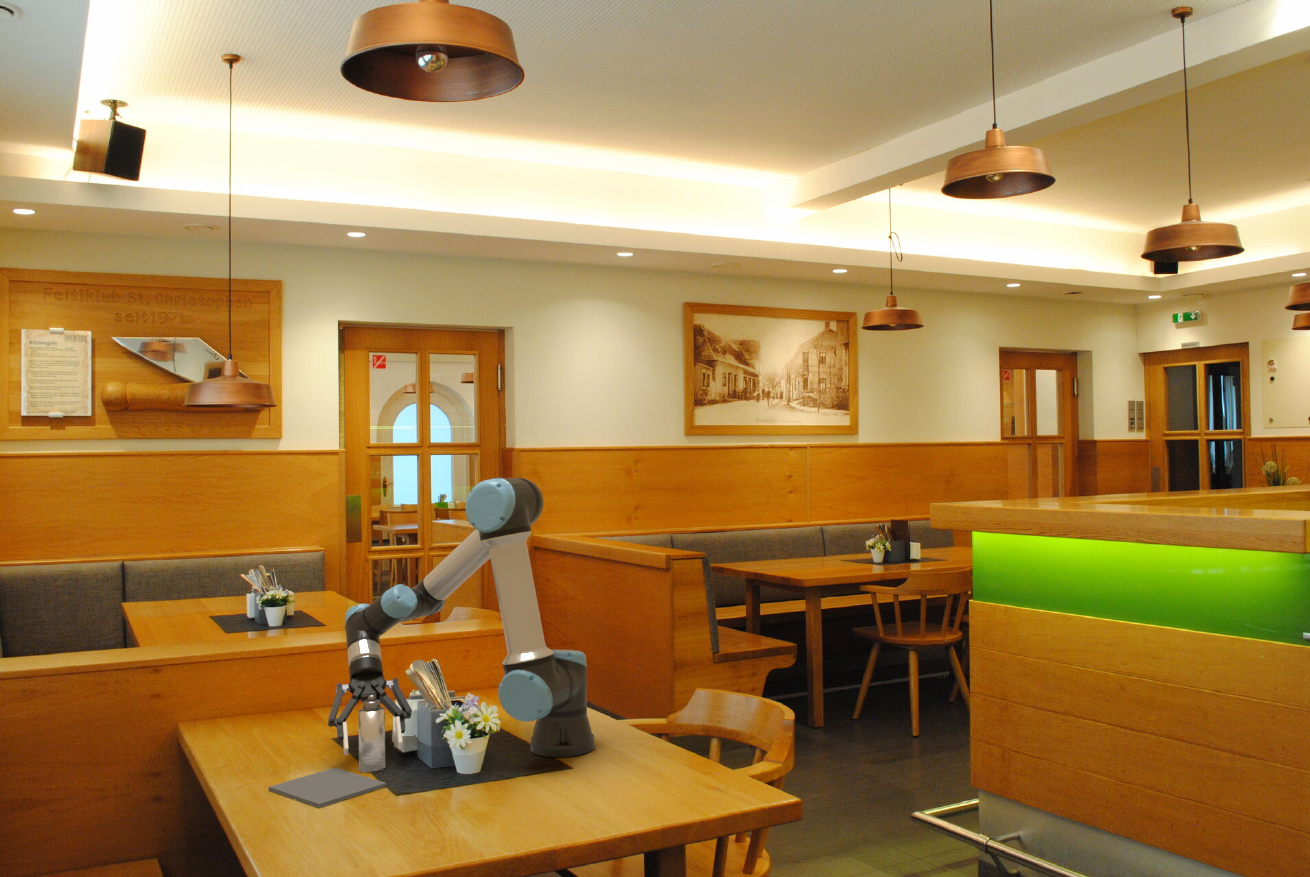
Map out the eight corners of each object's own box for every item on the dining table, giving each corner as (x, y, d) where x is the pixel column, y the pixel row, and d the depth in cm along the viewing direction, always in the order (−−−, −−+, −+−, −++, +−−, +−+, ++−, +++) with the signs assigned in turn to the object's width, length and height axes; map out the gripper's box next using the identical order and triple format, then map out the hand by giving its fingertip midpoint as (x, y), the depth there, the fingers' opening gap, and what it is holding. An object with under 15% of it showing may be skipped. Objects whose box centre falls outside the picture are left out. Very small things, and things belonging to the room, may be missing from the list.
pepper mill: (390, 767, 223) (389, 693, 223) (369, 774, 218) (368, 698, 219) (374, 763, 226) (374, 690, 227) (353, 769, 222) (353, 695, 222)
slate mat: (386, 786, 210) (386, 782, 210) (319, 808, 197) (319, 803, 197) (335, 771, 221) (335, 767, 221) (268, 790, 208) (268, 786, 208)
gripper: (414, 669, 241) (425, 751, 227) (312, 678, 233) (317, 764, 218) (417, 650, 237) (428, 733, 222) (313, 659, 228) (318, 745, 213)
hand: (373, 748), depth 220 cm, fingers open, 11 cm apart
